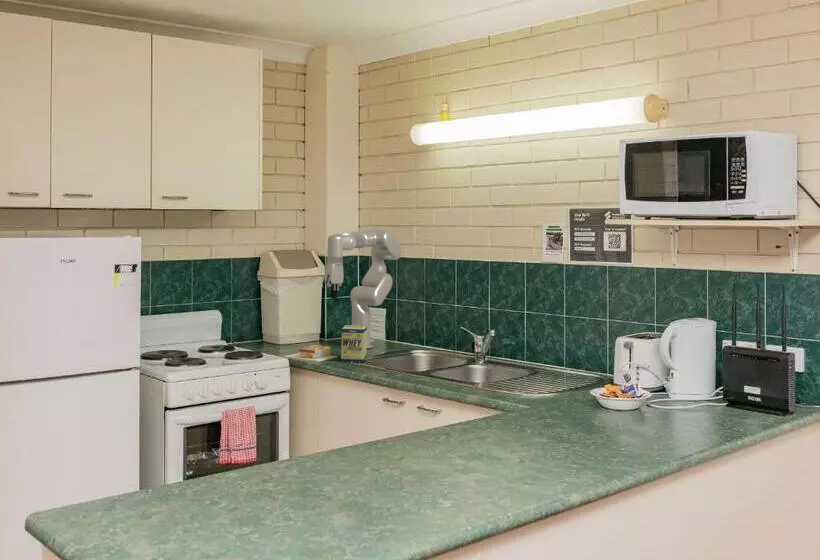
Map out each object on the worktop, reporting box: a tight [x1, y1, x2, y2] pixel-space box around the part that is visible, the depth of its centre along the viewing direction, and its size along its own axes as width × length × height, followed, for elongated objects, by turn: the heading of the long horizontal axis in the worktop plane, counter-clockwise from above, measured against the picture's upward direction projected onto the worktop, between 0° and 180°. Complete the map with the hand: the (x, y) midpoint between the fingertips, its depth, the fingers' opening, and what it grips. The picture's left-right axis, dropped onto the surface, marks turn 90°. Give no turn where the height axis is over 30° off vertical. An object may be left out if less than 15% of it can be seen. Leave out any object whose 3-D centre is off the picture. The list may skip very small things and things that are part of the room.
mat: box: [282, 352, 338, 363], centre depth 428 cm, size 16×20×1 cm
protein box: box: [340, 324, 367, 363], centre depth 425 cm, size 10×16×16 cm
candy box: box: [298, 344, 332, 359], centre depth 429 cm, size 9×4×15 cm
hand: (334, 298), depth 442 cm, fingers closed
